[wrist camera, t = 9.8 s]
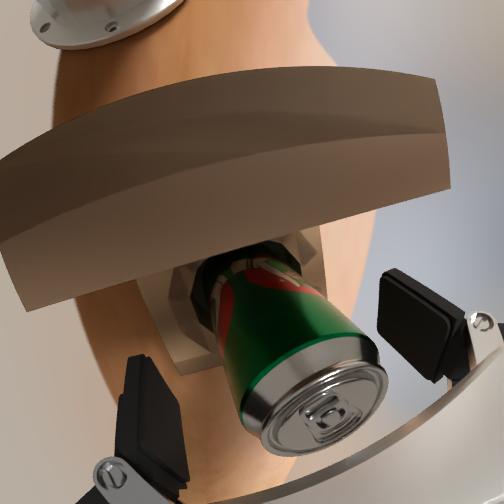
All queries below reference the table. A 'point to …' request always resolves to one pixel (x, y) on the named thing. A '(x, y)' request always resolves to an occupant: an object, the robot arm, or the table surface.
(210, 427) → the table surface
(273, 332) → the soda can
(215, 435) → the table surface
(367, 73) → the socket block
